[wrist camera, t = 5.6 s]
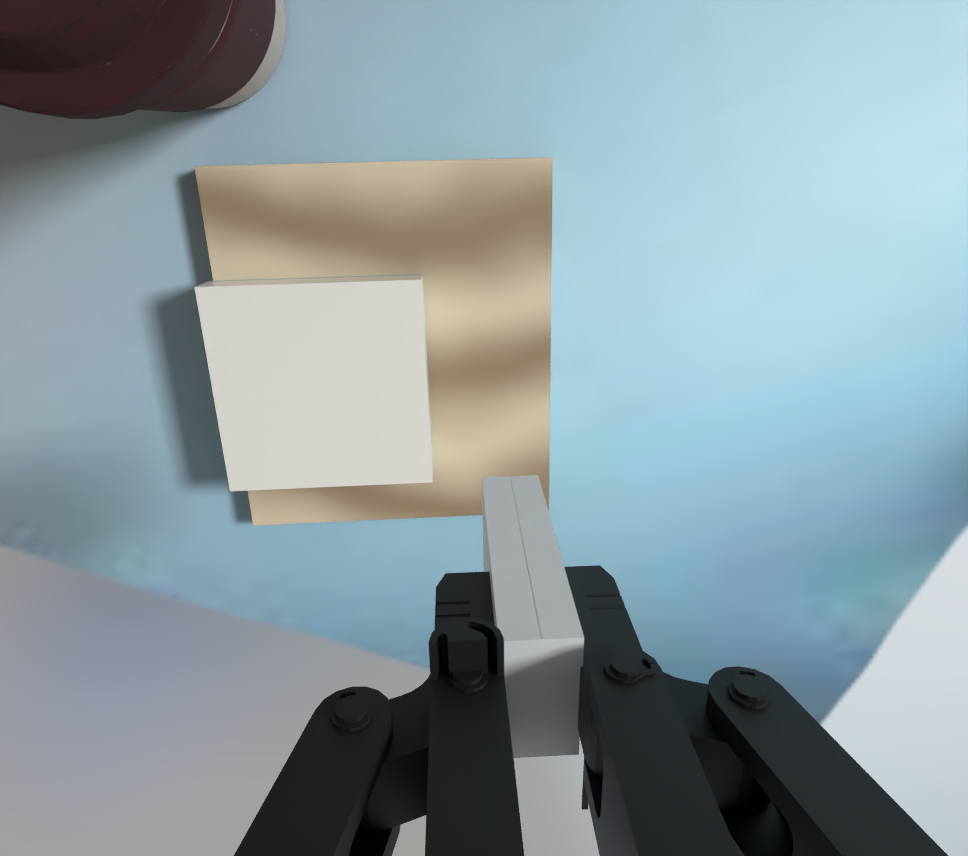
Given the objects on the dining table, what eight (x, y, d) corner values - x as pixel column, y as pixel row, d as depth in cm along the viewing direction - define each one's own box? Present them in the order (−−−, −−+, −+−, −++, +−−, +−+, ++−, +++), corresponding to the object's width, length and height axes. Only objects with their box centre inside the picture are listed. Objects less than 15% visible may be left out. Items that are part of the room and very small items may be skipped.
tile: (422, 273, 32) (209, 280, 31) (421, 279, 30) (194, 286, 30) (433, 466, 35) (241, 474, 35) (432, 482, 33) (230, 491, 33)
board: (203, 166, 31) (194, 166, 30) (548, 158, 31) (552, 157, 30) (259, 514, 37) (253, 525, 36) (545, 501, 38) (548, 511, 37)
